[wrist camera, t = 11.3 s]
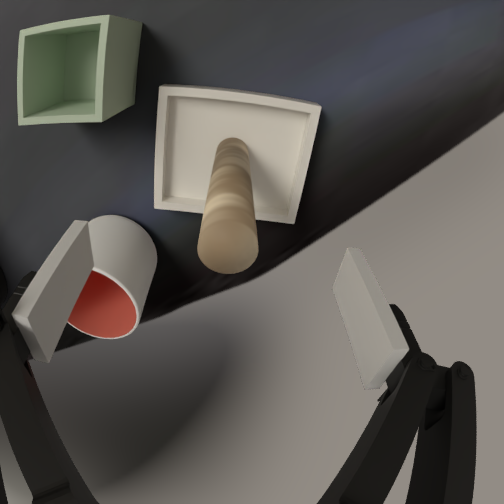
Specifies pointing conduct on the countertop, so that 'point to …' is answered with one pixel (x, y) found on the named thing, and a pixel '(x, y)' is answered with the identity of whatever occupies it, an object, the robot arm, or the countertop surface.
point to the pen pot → (77, 70)
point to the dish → (237, 126)
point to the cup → (115, 278)
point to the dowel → (229, 212)
